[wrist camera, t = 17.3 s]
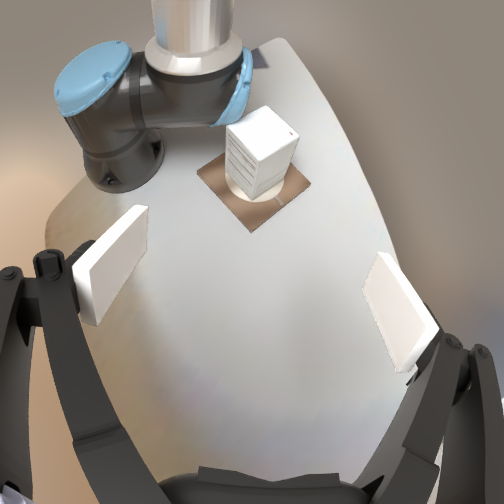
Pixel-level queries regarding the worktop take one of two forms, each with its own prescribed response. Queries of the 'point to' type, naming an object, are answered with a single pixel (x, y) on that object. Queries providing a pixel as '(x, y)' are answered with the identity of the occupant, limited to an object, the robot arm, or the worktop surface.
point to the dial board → (238, 201)
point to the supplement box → (259, 151)
